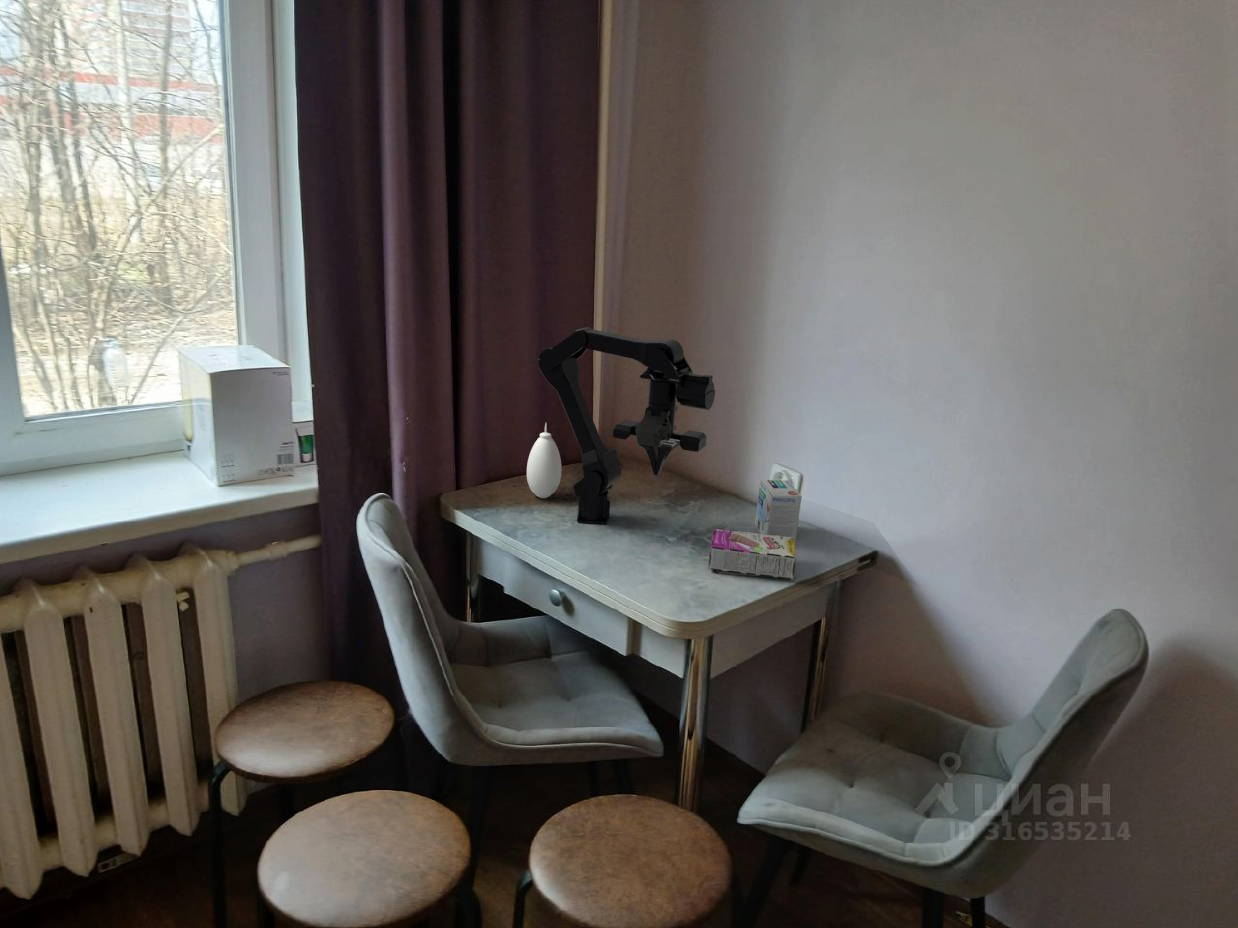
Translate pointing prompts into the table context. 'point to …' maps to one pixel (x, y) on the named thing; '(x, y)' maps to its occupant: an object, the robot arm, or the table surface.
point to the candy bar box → (752, 553)
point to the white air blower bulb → (544, 466)
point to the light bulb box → (778, 508)
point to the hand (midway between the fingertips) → (656, 474)
